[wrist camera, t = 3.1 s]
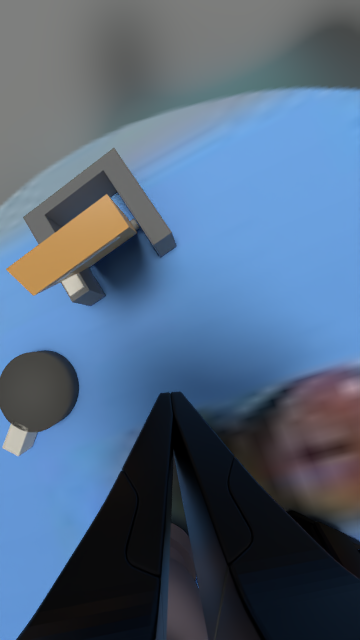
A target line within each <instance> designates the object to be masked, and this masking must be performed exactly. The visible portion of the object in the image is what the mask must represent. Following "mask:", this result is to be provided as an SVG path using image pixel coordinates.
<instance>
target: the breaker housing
mask: <svg viewBox="0 0 360 640" xmlns="http://www.w3.org/2000/svg"><path fill="white" fill-rule="evenodd" d="M116 192H118V194H119V195H120V197H121V198H122V200H123V201H124V203H125V204H126V206H127V207H128V209H129V210H130V212H131V213H132V215H133V216H134V218H135V219H136V221H137V222H138V224H139V225H140V227H141V228H142V230H143V231H144V233H145V234H146V236H147V237H148V239H149V241H150V242H151V244H152V245H153V247H154V248H155V250H156V251H157V253H158V254H159V256H160V257H162V256H163V255H165V254H166V253H168V252H169V251H171V250H172V249H173V248H175V247H176V243H175V241H174V238H173V235H172V232H171V231H170V229H169V228H168V226H167V225H166V223H165V222H164V220H163V219H162V217H161V216H160V214H159V213H158V212H157V210H156V209H155V207H154V206H153V204H152V203H151V201H150V200H149V198H148V197H147V195H146V194H145V192H144V191H143V189H142V188H141V187H140V185H139V184H138V182H137V181H136V179H135V178H134V176H133V175H132V173H131V172H130V170H129V169H128V167H127V166H126V164H125V163H124V162H123V160H122V159H121V157H120V156H119V154H118V153H117V151H116V150H115V148H113V149H112V150H110V151H109V152H108V153H106V154H105V155H104V156H102V157H101V158H100V159H98V160H97V161H96V162H95V163H93V164H92V165H91V166H89V167H88V168H87V169H85V170H84V171H83V172H82V173H80V174H79V175H78V176H76V177H75V178H74V179H72V180H71V181H70V182H69V183H67V184H66V185H65V186H63V187H62V188H61V189H59V190H58V191H57V192H55V193H54V194H53V195H52V196H50V197H49V198H48V199H46V200H45V201H44V202H42V203H41V204H40V205H39V206H37V207H36V208H35V209H33V210H32V211H31V212H29V213H28V214H27V215H25V216H24V217H23V218H24V220H25V222H26V223H27V225H28V227H29V229H30V230H31V232H32V234H33V235H34V237H35V239H36V241H37V242H38V244H40V243H42V242H43V241H44V240H46V239H47V238H48V237H50V236H51V235H52V234H54V233H55V232H57V231H58V230H59V229H61V228H62V227H63V226H65V225H66V224H67V223H69V222H70V221H71V220H73V219H74V218H75V217H77V216H78V215H79V214H81V213H82V212H83V211H85V210H86V209H87V208H89V207H90V206H91V205H93V204H94V203H95V202H97V201H98V200H99V199H101V198H102V197H103V196H105V195H106V194H107V195H108V196H109V197H111V196H112V195H114V194H115V193H116ZM135 219H132V220H131V221H130V222H131V224H132V225H133V227H134V228H135V230H137V229H139V228H140V227H139V225H138V224H137V222H136V221H135ZM61 284H62V285H63V287H64V289H65V290H66V292H67V294H68V296H69V297H70V299H71V301H72V302H74V303H79V304H83V305H88V306H91V305H93V304H94V303H96V302H97V301H99V300H100V299H102V298H103V297H104V296H105V294H104V292H103V291H102V289H101V287H100V286H99V284H98V282H97V281H96V279H95V277H94V276H93V274H92V273H91V271H90V269H89V268H87V269H85V270H83V271H81V272H79V273H77V274H75V275H73V276H71V277H69V278H68V279H66V280H64V281H62V282H61Z"/></svg>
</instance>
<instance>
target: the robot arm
mask: <svg viewBox="0 0 360 640" xmlns="http://www.w3.org/2000/svg"><path fill="white" fill-rule="evenodd" d="M173 449H174V457H175V463H176V468H177V474H178V479H179V484H180V490H181V495H182V500H183V506H184V511H185V516H186V522H187V527H188V533H189V538H190V543H191V549H192V554H193V559H194V565H195V570H196V575H197V581H198V586H199V591H200V597H201V602H202V608H203V613H204V618H205V624H206V629H207V634H208V640H360V542H359V541H357V540H354V539H352V538H350V537H348V536H347V535H346V534H344V533H342V532H340V531H337V530H335V529H333V528H331V527H329V526H327V525H324V524H322V523H320V522H316V521H313V520H311V519H309V518H307V517H305V516H303V515H300V514H298V513H296V512H294V511H290V512H288V513H287V512H286V511H285V510H284V509H283V508H282V507H281V506H280V505H279V504H278V503H277V502H276V501H275V500H274V499H273V498H272V497H271V496H270V495H269V494H268V493H267V492H266V491H265V490H264V489H263V488H262V487H261V486H260V485H259V484H258V483H257V481H256V480H255V479H254V478H253V477H252V476H251V475H250V473H249V472H248V471H247V470H246V469H245V468H244V467H243V465H242V464H241V463H240V462H239V461H238V459H237V458H236V457H235V458H234V455H233V454H232V452H231V451H230V450H229V449H228V448H227V446H226V445H225V444H224V443H223V442H222V440H221V439H220V438H219V437H218V436H217V434H216V433H215V432H214V431H213V430H212V428H211V427H210V426H209V425H208V424H207V422H206V421H205V420H204V419H203V418H202V416H201V415H200V414H199V413H198V412H197V410H196V409H195V408H194V407H193V406H192V404H191V403H190V402H189V401H188V400H187V398H186V397H185V396H184V395H183V394H182V393H181V392H171V394H170V393H169V392H166V393H160V394H159V396H158V398H157V400H156V402H155V404H154V406H153V408H152V410H151V412H150V414H149V416H148V418H147V420H146V422H145V424H144V426H143V428H142V430H141V432H140V434H139V436H138V438H137V440H136V442H135V444H134V446H133V448H132V450H131V452H130V454H129V456H128V458H127V460H126V462H125V464H124V466H123V468H122V471H121V472H120V474H119V475H118V477H117V479H116V481H115V483H114V485H113V487H112V489H111V491H110V493H109V495H108V496H107V498H106V500H105V502H104V504H103V506H102V507H101V509H100V511H99V512H98V514H97V516H96V517H95V519H94V521H93V522H92V524H91V526H90V527H89V529H88V530H87V532H86V534H85V535H84V537H83V538H82V540H81V542H80V543H79V545H78V546H77V548H76V549H75V551H74V553H73V554H72V556H71V557H70V559H69V561H68V562H67V564H66V565H65V567H64V569H63V570H62V572H61V573H60V575H59V577H58V578H57V580H56V581H55V583H54V584H53V586H52V588H51V589H50V591H49V592H48V594H47V596H46V597H45V599H44V600H43V602H42V603H41V605H40V606H39V608H38V610H37V611H36V613H35V614H34V616H33V617H32V618H31V620H30V621H29V623H28V624H27V626H26V627H25V628H24V630H23V631H22V632H21V634H20V635H19V636H18V638H17V639H16V640H166V638H167V612H168V586H169V560H170V534H171V508H172V482H173ZM293 518H295V519H293ZM358 549H359V550H358Z"/></svg>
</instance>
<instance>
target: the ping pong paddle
mask: <svg viewBox="0 0 360 640" xmlns="http://www.w3.org/2000/svg"><path fill="white" fill-rule="evenodd" d="M78 390H79V385H78V378H77V375H76V372H75V370H74V368H73V366H72V365H71V363H70V362H69V361H68V360H67V359H66V358H65V357H63V356H62V355H60V354H58V353H56V352H53V351H37V352H30V353H25V354H22V355H19V356H17V357H16V358H14V359H13V360H12V361H11V362H10V363H9V364H8V365H7V366H6V367H5V369H4V370H3V372H2V374H1V377H0V408H1V410H2V412H3V414H4V416H5V417H6V419H7V420H8V421H9V422H10V423H11V425H10V428H9V431H8V434H7V436H6V439H5V442H4V445H3V447H2V448H3V449H5V450H7V451H9V452H11V453H13V454H15V455H17V456H20V455H21V454H23V453H24V452H26V451H27V450H28V449H30V448H31V447H32V446H33V443H34V441H35V438H36V435H37V432H40V431H43V430H46V429H48V428H50V427H51V426H53V425H55V424H56V423H58V422H59V421H61V420H62V419H64V418H65V417H66V416H67V415H68V414H69V413H70V412H71V411H72V409H73V407H74V406H75V403H76V401H77V397H78Z"/></svg>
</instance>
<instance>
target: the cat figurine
mask: <svg viewBox="0 0 360 640" xmlns="http://www.w3.org/2000/svg"><path fill="white" fill-rule="evenodd" d="M195 580H196V570H195V565H194V559H193V554H192V549H191V543H190V538H189V536H188V535H187V534H186V533H185V532H184V531H183V529H181V528H180V527H178V526H176V525H175V524H173V523H171V534H170V560H169V586H168V612H167V638H166V640H208V634H207V629H206V624H205V618H204V613H203V608H202V602H201V597H200V591H199V588H198V586H197V584H196V582H195Z"/></svg>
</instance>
